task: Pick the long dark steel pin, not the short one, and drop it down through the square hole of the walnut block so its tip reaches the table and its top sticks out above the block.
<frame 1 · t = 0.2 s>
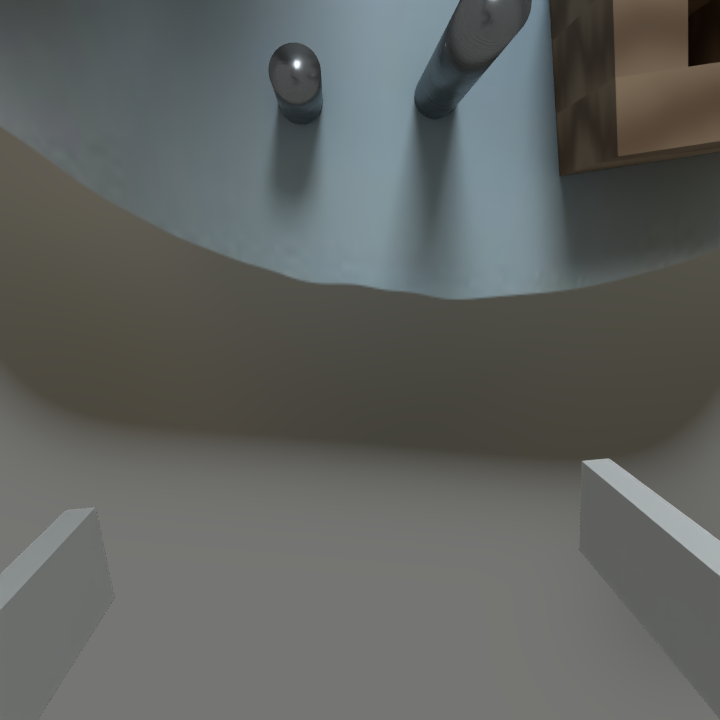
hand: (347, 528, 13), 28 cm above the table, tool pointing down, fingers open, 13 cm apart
long pin: (435, 95, 37), on the table
short pin: (300, 100, 36), on the table
pin block: (645, 65, 37), on the table
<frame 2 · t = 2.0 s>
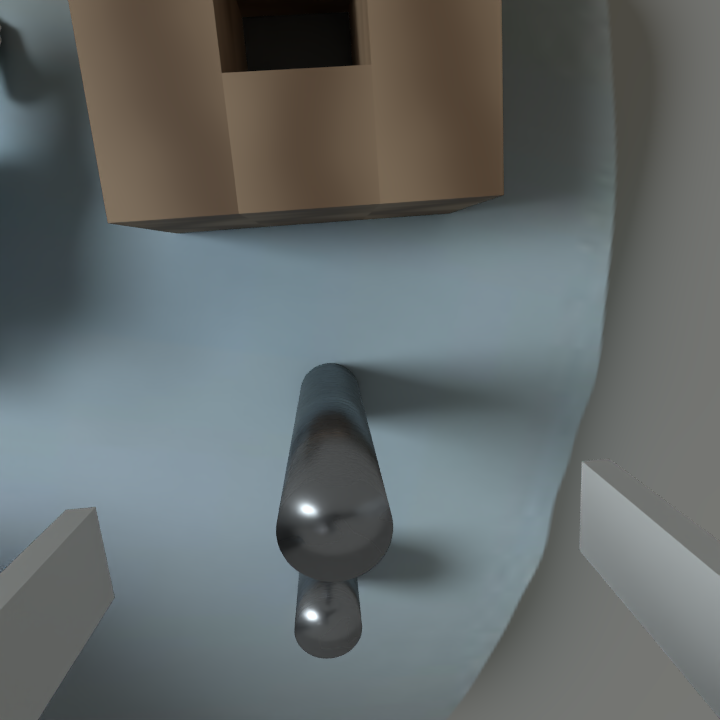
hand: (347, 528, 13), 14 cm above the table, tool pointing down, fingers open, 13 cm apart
long pin: (329, 391, 27), on the table
short pin: (327, 554, 29), on the table
pin block: (300, 73, 24), on the table
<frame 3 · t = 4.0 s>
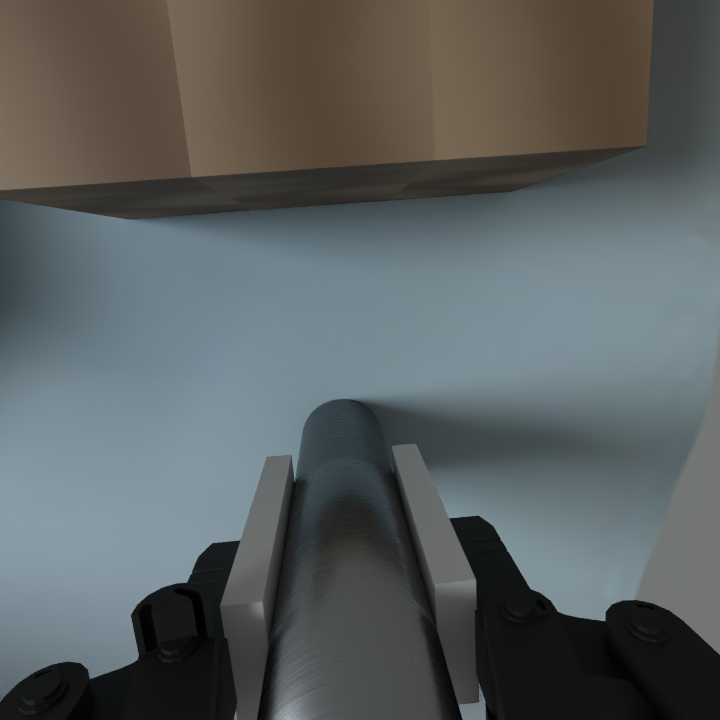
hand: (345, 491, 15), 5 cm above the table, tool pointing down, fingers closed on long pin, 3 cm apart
long pin: (342, 437, 20), on the table, touching gripper
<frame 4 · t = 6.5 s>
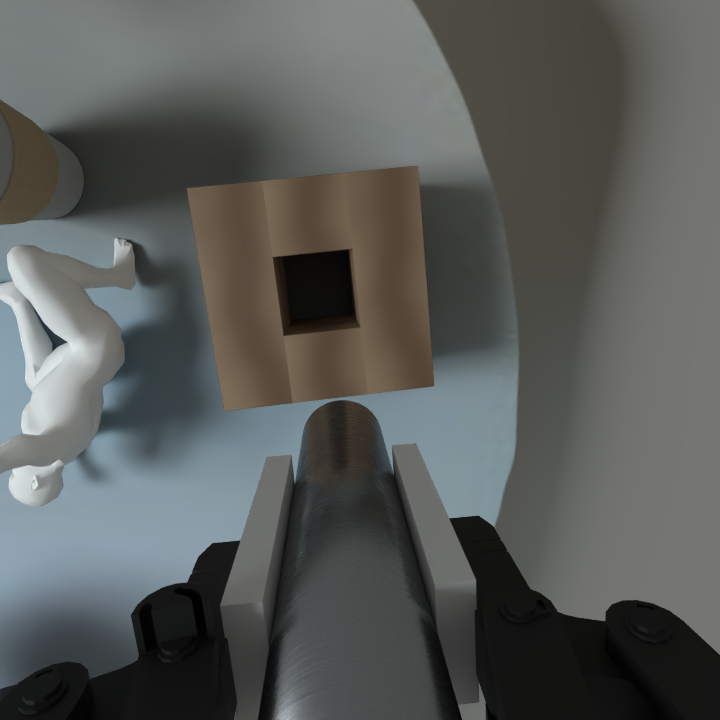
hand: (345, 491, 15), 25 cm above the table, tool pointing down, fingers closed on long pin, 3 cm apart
person figurine: (92, 363, 39), on the table
coffee cup: (45, 177, 36), on the table
long pin: (342, 438, 20), point 21 cm above the table, touching gripper
pin block: (319, 285, 39), on the table
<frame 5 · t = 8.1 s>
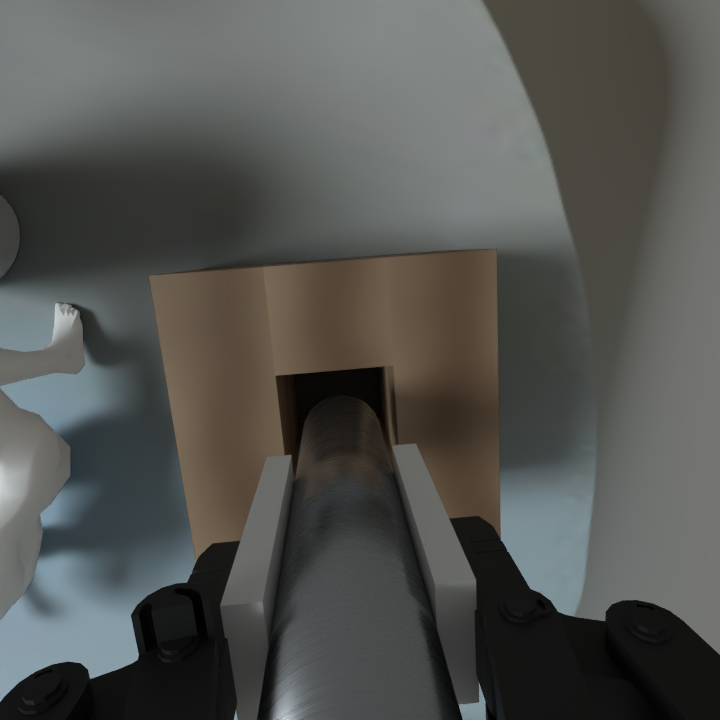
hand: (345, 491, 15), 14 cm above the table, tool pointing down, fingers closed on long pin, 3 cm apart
person figurine: (35, 466, 30), on the table
long pin: (341, 432, 20), point 9 cm above the table, touching gripper
pin block: (337, 380, 29), on the table
when the fingers open (10 cm above the table, at t = 9.3 s): long pin drops 5 cm, resting in pin block.
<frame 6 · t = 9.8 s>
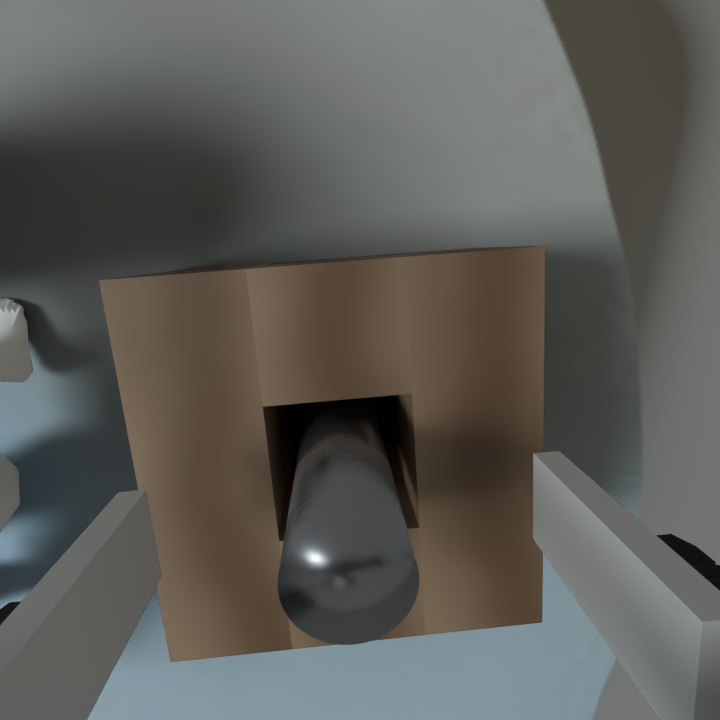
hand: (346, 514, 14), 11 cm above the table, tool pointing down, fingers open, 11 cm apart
long pin: (339, 400, 25), resting in pin block
pin block: (340, 400, 25), on the table
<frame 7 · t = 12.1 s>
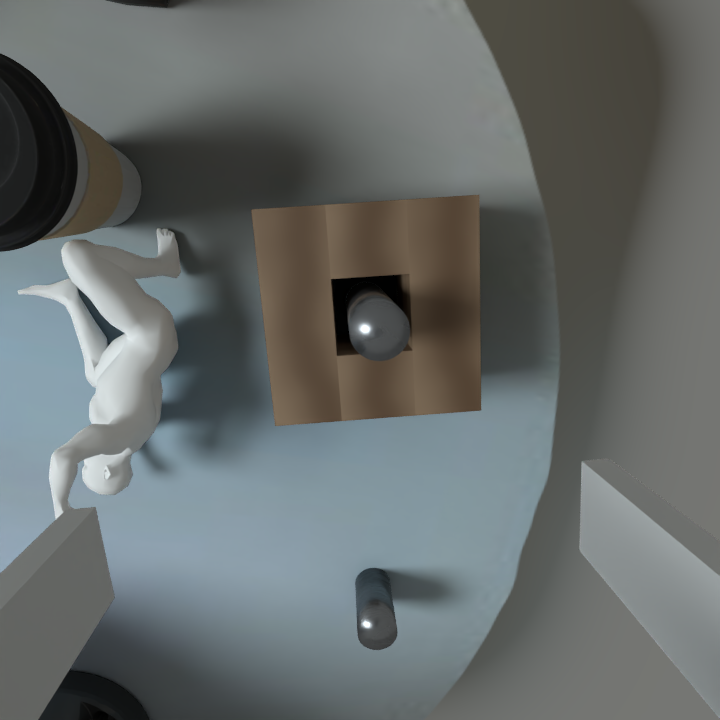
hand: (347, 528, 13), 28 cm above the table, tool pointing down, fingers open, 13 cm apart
person figurine: (146, 355, 40), on the table, touching coffee cup
coffee cup: (104, 185, 37), on the table, touching person figurine
long pin: (365, 301, 39), resting in pin block
short pin: (372, 583, 45), on the table
pin block: (366, 301, 39), on the table
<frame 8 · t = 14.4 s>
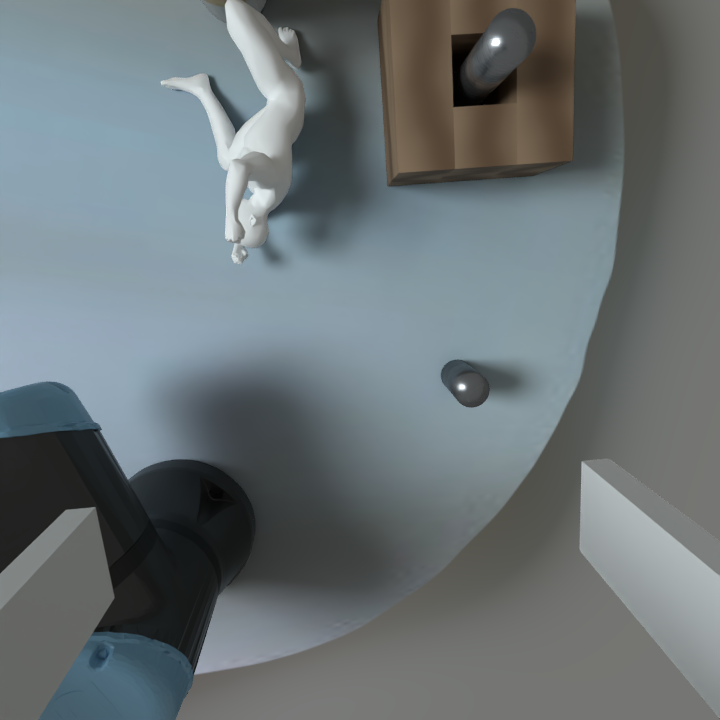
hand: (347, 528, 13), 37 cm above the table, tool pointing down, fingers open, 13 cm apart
person figurine: (264, 150, 46), on the table, touching coffee cup
long pin: (457, 101, 45), resting in pin block
short pin: (456, 374, 51), on the table
pin block: (458, 101, 45), on the table
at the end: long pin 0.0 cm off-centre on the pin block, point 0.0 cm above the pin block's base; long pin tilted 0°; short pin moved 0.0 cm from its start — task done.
